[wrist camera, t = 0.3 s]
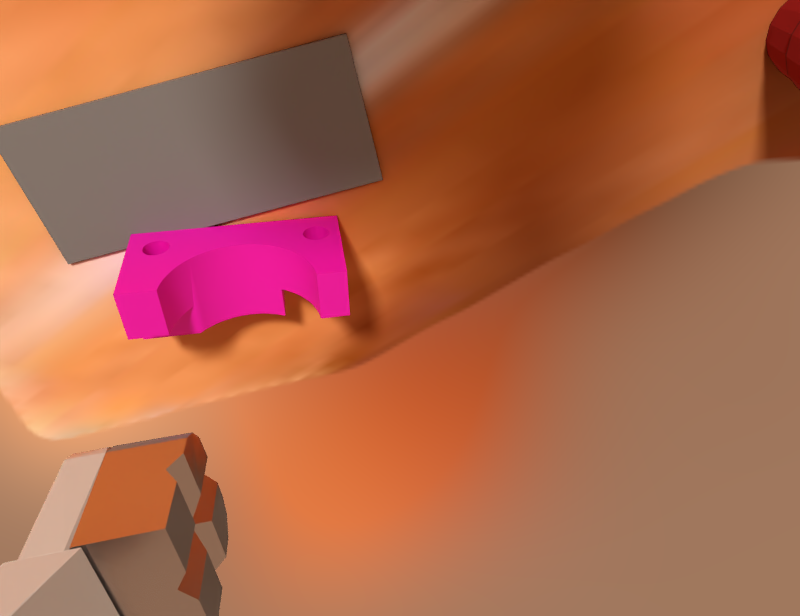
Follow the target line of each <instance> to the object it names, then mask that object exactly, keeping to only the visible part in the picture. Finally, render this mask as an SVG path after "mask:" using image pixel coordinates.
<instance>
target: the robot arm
mask: <svg viewBox="0 0 800 616" xmlns="http://www.w3.org/2000/svg"><path fill="white" fill-rule="evenodd" d="M206 462H207V455H206V452H205V450H204V447H203V445H202V443H201V441H200V438H199V437H198V436H197V435H195V434H194V433H187V434H181V435H175V436H169V437H164V438H158V439H152V440H146V441H140V442H135V443H130V444H123V445H117V446H113V447H112V448H111V447H109V448H108V447H107V448H102V449H97V450H91V451H86V452H81V453H75V454H72V455H71V456H70V457H68V458H67V459H65V460H64V462H63V463H62V465H61V468H60V470H59V472H58V474H57V476H56V478H55V480H54V483H53V485H52V487H51V489H50V491H49V493H48V496H47V498H46V500H45V502H44V504H43V506H42V508H41V511H40V513H39V515H38V517H37V519H36V521H35V524H34V526H33V528H32V530H31V532H30V534H29V536H28V538H27V541H26V543H25V545H24V547H23V549H22V551H21V554H20V556H19V558H18V560H16V561H10V562H6V563H3V564H2V565H1V566H0V616H219V609H220V602H221V594H222V586H221V583H220V581H219V578H218V576H217V574H216V571H215V570H216V569H217V567H218V566H219V565H220V564H221V563H222V561H223V560H224V559H225V558H226V554H227V545H228V525H227V513H226V508H225V504H224V500H223V496H222V493H221V491H220V488H219V485H218V483H217V482H216V481H214V480H212V479H211V478H209V477H207V476H205V475H204V474H205V468H206Z"/></svg>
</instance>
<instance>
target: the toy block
mask: <svg viewBox="0 0 800 616" xmlns="http://www.w3.org/2000/svg"><path fill="white" fill-rule="evenodd" d="M284 290H287V291H290V292H293V293H295V294H298V295H300V296H302V297H303V298H305V299H306V300H308V301H309V302H310V303H311V304H313V305H314V307H315V308H316V309H317V311H318V312H319V314H320V317H321V318H329V317H338V316H347V315H350V308H349V293H348V279H347V269H346V263H345V258H344V252H343V247H342V241H341V236H340V231H339V225H338V220H337V216H326V217H315V218H304V219H293V220H282V221H271V222H260V223H249V224H238V225H227V226H216V227H205V228H194V229H183V230H172V231H161V232H150V233H139V234H131V236H130V239H129V243H128V246H127V249H126V253H125V256H124V260H123V263H122V267H121V270H120V273H119V277H118V280H117V284H116V287H115V291H114V294H113V296H114V299H115V302H116V305H117V308H118V310H119V313H120V316H121V319H122V322H123V325H124V328H125V331H126V334H127V337H128V340H129V339H138V338H143V339H150V338H159V337H168V336H177V335H187V334H196V333H201V332H203V331H204V330H206V329H208V328H209V327H211V326H213V325H215V324H217V323H220V322H222V321H225V320H228V319H231V318H234V317H238V316H243V315H249V314H262V313H266V314H279V315H285V297H284Z"/></svg>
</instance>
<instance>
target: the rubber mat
mask: <svg viewBox="0 0 800 616" xmlns="http://www.w3.org/2000/svg"><path fill="white" fill-rule="evenodd" d="M0 154H1V156H2V157H3V159H4V161H5V162H6V164H7V166H8V167H9V169H10V170H11V172H12V174H13V175H14V177H15V178H16V180H17V182H18V183H19V185H20V187H21V188H22V190H23V191H24V193H25V195H26V196H27V198H28V200H29V201H30V203H31V204H32V206H33V208H34V209H35V211H36V213H37V214H38V216H39V217H40V219H41V221H42V222H43V224H44V226H45V227H46V229H47V230H48V232H49V234H50V235H51V237H52V238H53V240H54V242H55V243H56V245H57V247H58V248H59V250H60V251H61V253H62V255H63V256H64V258H65V260H66V261H67V263H68V264H71V263H75V262H78V261H82V260H86V259H90V258H93V257H97V256H101V255H105V254H108V253H112V252H116V251H119V250H123V249H127V246H128V243H129V239H130V236H131V234H139V233H150V232H161V231H172V230H183V229H194V228H205V227H209V226H213V225H216V224H220V223H224V222H228V221H231V220H235V219H239V218H242V217H246V216H250V215H254V214H257V213H261V212H265V211H268V210H272V209H276V208H280V207H283V206H287V205H291V204H295V203H298V202H302V201H306V200H309V199H313V198H317V197H321V196H324V195H328V194H332V193H336V192H339V191H343V190H347V189H350V188H354V187H358V186H362V185H365V184H369V183H373V182H377V181H380V180H383V178H382V174H381V170H380V166H379V162H378V158H377V154H376V150H375V146H374V142H373V138H372V134H371V130H370V126H369V122H368V118H367V114H366V110H365V106H364V102H363V98H362V94H361V90H360V86H359V82H358V78H357V74H356V70H355V66H354V62H353V58H352V54H351V50H350V46H349V42H348V38H347V34H346V33H345V34H341V35H337V36H334V37H330V38H326V39H322V40H319V41H315V42H311V43H308V44H304V45H300V46H296V47H293V48H289V49H285V50H281V51H278V52H274V53H270V54H266V55H263V56H259V57H255V58H252V59H248V60H244V61H240V62H237V63H233V64H229V65H225V66H222V67H218V68H214V69H210V70H207V71H203V72H199V73H196V74H192V75H188V76H184V77H181V78H177V79H173V80H169V81H166V82H162V83H158V84H154V85H151V86H147V87H143V88H140V89H136V90H132V91H128V92H125V93H121V94H117V95H113V96H110V97H106V98H102V99H98V100H95V101H91V102H87V103H84V104H80V105H76V106H72V107H69V108H65V109H61V110H57V111H54V112H50V113H46V114H42V115H39V116H35V117H31V118H28V119H24V120H20V121H16V122H13V123H9V124H5V125H1V126H0Z"/></svg>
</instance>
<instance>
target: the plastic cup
mask: <svg viewBox="0 0 800 616" xmlns="http://www.w3.org/2000/svg"><path fill="white" fill-rule="evenodd" d="M766 44H767V52H768V56H769V57H770V59H771V60H772V62H773V63H774V64H775V66H776V67H777V69H778V70H779V71H780V72H782V73H783V74H784V75H785V76H786V77H788V78H789V79H790V80H791V81H792V82H793V83H794V84H795V86H796V87H797V88H798V89H799V90H800V0H788V1H787V2H786V3H785V4H784V5H783V6H782V7H781V8H780V9H779V11H778V12H777V14H776V16H775V17H774V19H773V21H772V22H771V24H770V27H769V31H768V35H767V39H766Z"/></svg>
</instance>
